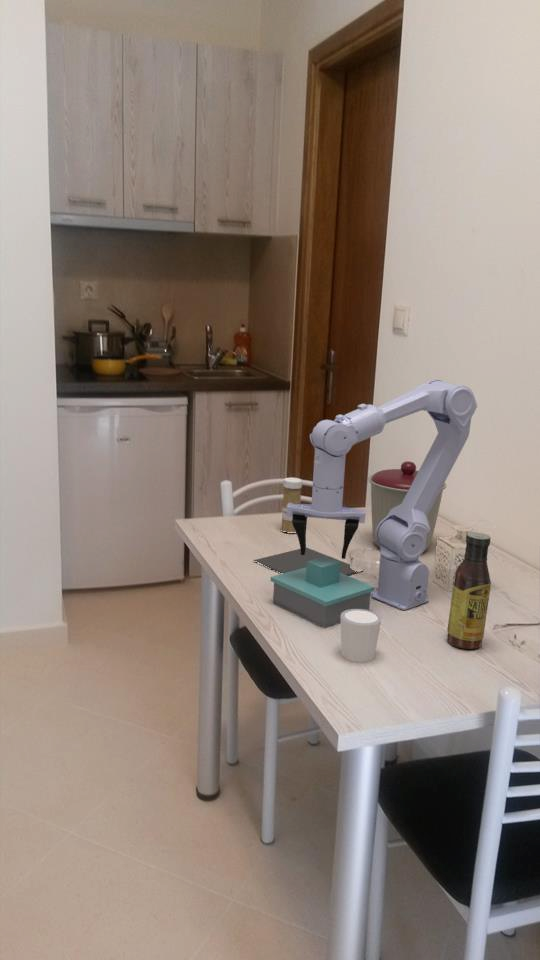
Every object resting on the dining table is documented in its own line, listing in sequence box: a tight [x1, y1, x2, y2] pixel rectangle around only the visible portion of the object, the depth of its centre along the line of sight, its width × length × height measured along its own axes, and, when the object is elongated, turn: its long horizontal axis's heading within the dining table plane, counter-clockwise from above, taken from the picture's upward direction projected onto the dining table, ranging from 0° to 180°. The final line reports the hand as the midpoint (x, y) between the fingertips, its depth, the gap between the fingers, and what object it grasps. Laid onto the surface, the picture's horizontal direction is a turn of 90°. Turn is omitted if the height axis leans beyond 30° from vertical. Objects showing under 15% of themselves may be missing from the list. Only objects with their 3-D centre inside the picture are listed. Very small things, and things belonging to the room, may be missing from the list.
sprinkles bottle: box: [280, 477, 303, 532], centre depth 199 cm, size 5×5×14 cm
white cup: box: [340, 609, 383, 664], centre depth 134 cm, size 7×7×7 cm
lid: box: [270, 557, 376, 606], centre depth 153 cm, size 15×13×6 cm
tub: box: [272, 582, 371, 629], centre depth 154 cm, size 14×12×4 cm
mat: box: [253, 546, 357, 576], centre depth 176 cm, size 18×16×1 cm
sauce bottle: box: [446, 531, 492, 650], centre depth 139 cm, size 6×6×20 cm
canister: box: [367, 460, 447, 552], centre depth 190 cm, size 18×18×21 cm
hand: (323, 555), depth 152 cm, fingers open, 7 cm apart
